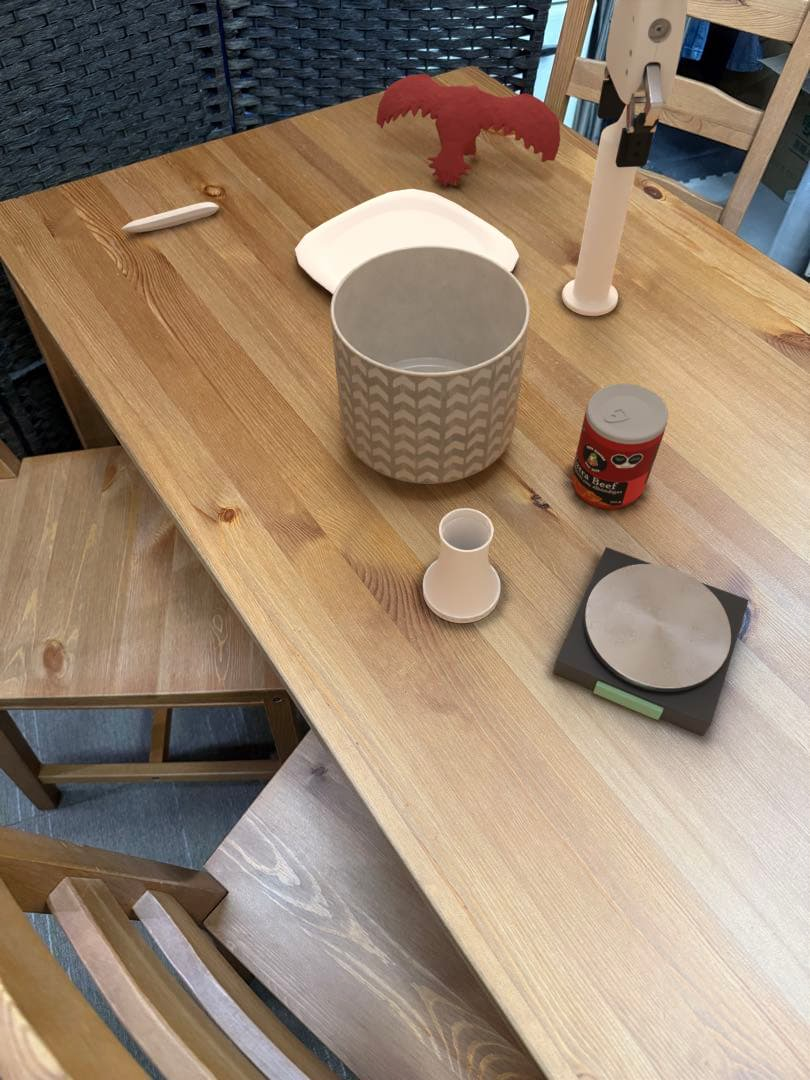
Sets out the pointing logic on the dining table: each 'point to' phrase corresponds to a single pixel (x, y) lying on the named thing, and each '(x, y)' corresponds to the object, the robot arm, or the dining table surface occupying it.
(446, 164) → the decorative bird sculpture
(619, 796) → the dining table surface
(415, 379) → the planter
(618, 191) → the candle
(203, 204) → the pen
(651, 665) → the scale
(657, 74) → the robot arm
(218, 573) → the dining table surface
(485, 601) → the vase
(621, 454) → the canned food
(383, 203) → the plate
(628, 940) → the dining table surface
